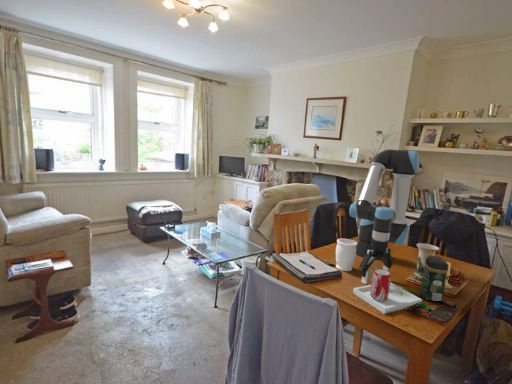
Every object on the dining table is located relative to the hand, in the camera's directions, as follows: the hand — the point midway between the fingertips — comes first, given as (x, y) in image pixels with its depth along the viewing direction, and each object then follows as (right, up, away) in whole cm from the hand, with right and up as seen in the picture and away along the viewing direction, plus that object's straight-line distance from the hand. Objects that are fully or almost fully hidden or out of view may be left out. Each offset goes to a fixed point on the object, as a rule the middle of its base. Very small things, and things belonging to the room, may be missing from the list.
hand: (374, 281), depth 140 cm
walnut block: (0, 0, 0) cm, 0 cm away
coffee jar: (+20, -4, -12) cm, 24 cm away
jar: (-11, +3, +14) cm, 18 cm away
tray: (-1, -3, -16) cm, 16 cm away
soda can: (-5, -2, -18) cm, 19 cm away
